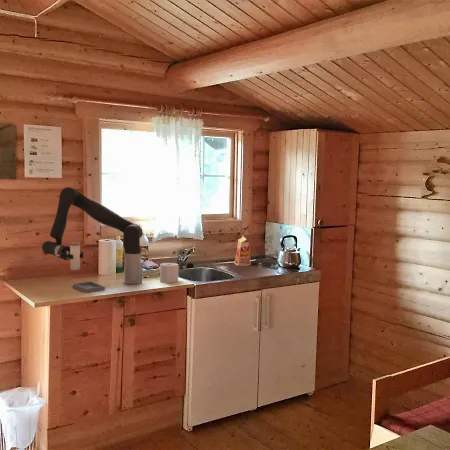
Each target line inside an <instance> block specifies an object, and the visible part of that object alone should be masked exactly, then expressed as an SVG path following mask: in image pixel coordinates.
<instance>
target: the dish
mask: <svg viewBox="0 0 450 450" xmlns="http://www.w3.org/2000/svg"><path fill="white" fill-rule="evenodd" d="M105 287H106V286H104V285H102V284H100V283H97V282H95V281H91V280H90V281H83V282H73V288H75V289H77V290H79V291H81V292H84V293H95V292H101V291H105Z"/></svg>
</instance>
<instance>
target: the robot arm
mask: <svg viewBox="0 0 450 450" xmlns="http://www.w3.org/2000/svg"><path fill="white" fill-rule="evenodd" d="M58 198H59V199H58V205H57V210H56V214H55V218H54V221H53V224H52V225H51V226H52V227H51V229H50V233H49V236H50V237H51V239H52V238H53V239H55V241H54V242H53V241H51V240H46V241H44V242H43V243H42V245H41V250H42V252H43V253H45V254H48V255H52V256H55V257H57V258H58V259H61V260H65V261H70V259H73V255H71V254H70V245H66V244H63V236H64V233H65V230H66V227H67V220H68V214H69V210H70V208H71V205H72V206H75V207H76V208H78V209H81V210H82V211H83V212H85V214H87V215H88V216H89V217H90V218H92V219H93V220H94V221H96V222H98V223H100V224H102V225H104V226H107V227H110V228H113V229H116V230H118V231H119V232H121V233H122V234H123V239H122V240H123V241H122V242H123V249H124V266H123V267H124V271H123V272H124V277H123V278H124V279H123V280H124V281H123V282H124V284H126V285H138V284H141V283H143V266H142V247H141V245H140V243H141V241H140V240H141V237H142V236H143V231H144V230H143V229H142V227H141V226H140V225H138V224H136V223H135V222H132V221H129V220H127V219H126V218H123V217H122V216H121V215H119V214H117V213H116V212H114V211H113V210H111V209H109V208H108V207H106V206H105V205H103V204H100V203H98V202H97V201H95V200H92V199H89V197H87V196H85V195H84V194H82V192H80V191H79V190H78V189H75V188H73V187H64V188H63V189H61V191H60V194H59V197H58ZM83 258H84V251H82V250H80V259H83Z"/></svg>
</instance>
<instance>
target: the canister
mask: <svg viewBox="0 0 450 450" xmlns="http://www.w3.org/2000/svg"><path fill="white" fill-rule="evenodd" d="M69 247H70V254H71V255H73V259H69V263H70V265H69V266H70V270H71V271H78V270H81V258H80V251H81V242H80V241H71V242H69Z"/></svg>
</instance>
